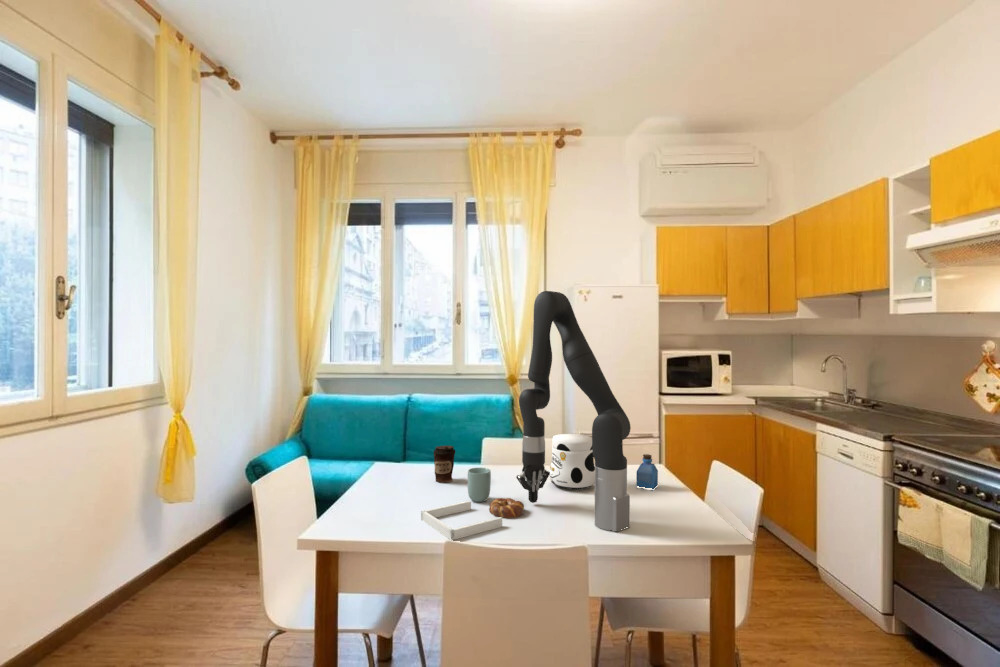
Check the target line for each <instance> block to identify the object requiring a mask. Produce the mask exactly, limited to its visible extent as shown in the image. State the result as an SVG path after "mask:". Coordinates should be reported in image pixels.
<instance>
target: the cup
mask: <svg viewBox="0 0 1000 667" xmlns="http://www.w3.org/2000/svg"><path fill="white" fill-rule="evenodd" d="M491 473H492V472H491V469H489V468H486V467H472V468H469V469H467V494H468V497H469V499H470V501H471V502H475V503H482V502H485V501H487V500H488V499H489V497H490V494H491V488H492V487H491V486H492V485H491V484H492V483H491V482H492V481H491V480H492V474H491Z"/></svg>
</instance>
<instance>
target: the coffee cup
mask: <svg viewBox="0 0 1000 667" xmlns="http://www.w3.org/2000/svg"><path fill="white" fill-rule="evenodd" d="M455 455H456V449H455V448H454V446H453V445H439V446H436V447H435V449H434V450H433V463H434V475H435V482H438V483H450V482H453V478H452V476H453V470H454V466H455V460H454V459H455Z"/></svg>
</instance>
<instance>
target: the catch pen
mask: <svg viewBox="0 0 1000 667" xmlns="http://www.w3.org/2000/svg"><path fill="white" fill-rule="evenodd" d="M470 510H472V500H466V501H462V502H456V503H452V504H448V505H443V506H438V507H433V508H430V509H425V510H421V512H420V520H421V521H423V522H424V523H425V524H427V525H428V526H430V527H431V528H432V529H434V530H435V531H437V532H438V533H440V535H441V534H442V535H443V536H444V537H445V538H447V539H448V540H450V539H452V540H451V541H454V540H458V539H461V538H465V537H469V536H473V535H477V534H479V533H484V532H487V531H490V530H491V531H492V530H494V529H495V530H496V529H499V528H503V517H495V518H490V519H486V520H483V521H479V522H476V523H471V524H467V525H463V526H460V527H456V528H455V527H454V528H452V527H450V526H449V525H447V524H446V523H445V522H443V521H441V520H440V519H438V518H439V517H440V518H441V517H443V516H447V515H448V516H449V515H454V514H458V513H462V512H466V511H470Z"/></svg>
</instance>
